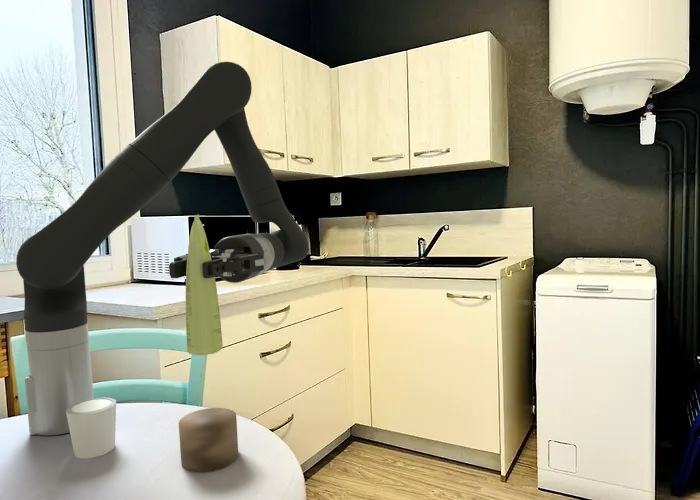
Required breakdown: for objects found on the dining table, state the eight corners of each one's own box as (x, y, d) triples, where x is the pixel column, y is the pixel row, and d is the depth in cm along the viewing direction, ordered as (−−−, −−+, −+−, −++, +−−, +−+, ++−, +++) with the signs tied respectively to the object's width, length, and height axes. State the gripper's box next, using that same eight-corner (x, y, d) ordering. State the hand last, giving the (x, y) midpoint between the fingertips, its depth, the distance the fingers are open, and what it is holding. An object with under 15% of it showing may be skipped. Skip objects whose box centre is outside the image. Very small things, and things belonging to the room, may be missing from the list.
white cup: (99, 461, 74) (95, 415, 73) (58, 458, 75) (54, 413, 75) (129, 440, 81) (125, 397, 80) (91, 438, 82) (87, 395, 82)
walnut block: (179, 477, 69) (176, 434, 68) (182, 450, 77) (180, 412, 76) (240, 467, 71) (237, 425, 71) (237, 442, 79) (234, 404, 78)
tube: (233, 349, 73) (224, 213, 72) (205, 359, 69) (194, 214, 67) (207, 344, 77) (198, 214, 75) (179, 353, 72) (168, 215, 71)
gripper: (205, 235, 87) (140, 244, 70) (283, 233, 83) (235, 242, 67) (207, 278, 88) (144, 297, 71) (285, 278, 84) (238, 298, 68)
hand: (188, 270), depth 69 cm, fingers closed on tube, 4 cm apart
